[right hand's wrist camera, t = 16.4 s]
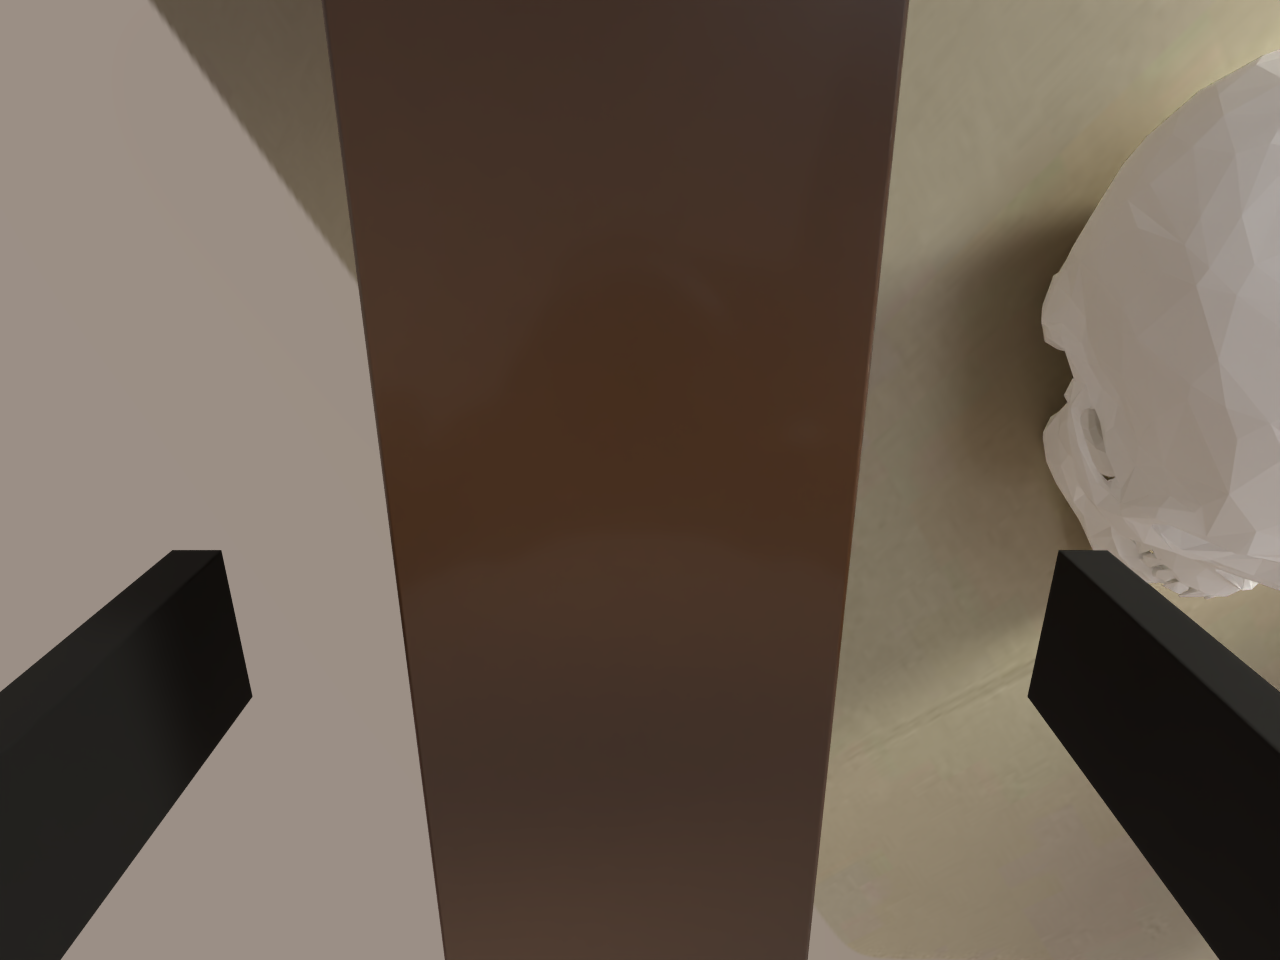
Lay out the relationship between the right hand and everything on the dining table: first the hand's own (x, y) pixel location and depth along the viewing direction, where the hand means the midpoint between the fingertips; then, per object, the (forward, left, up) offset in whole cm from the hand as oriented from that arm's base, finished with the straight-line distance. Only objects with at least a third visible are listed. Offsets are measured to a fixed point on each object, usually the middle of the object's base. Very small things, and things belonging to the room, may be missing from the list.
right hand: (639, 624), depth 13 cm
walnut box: (-9, 0, -6) cm, 10 cm away
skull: (0, +23, -24) cm, 33 cm away
